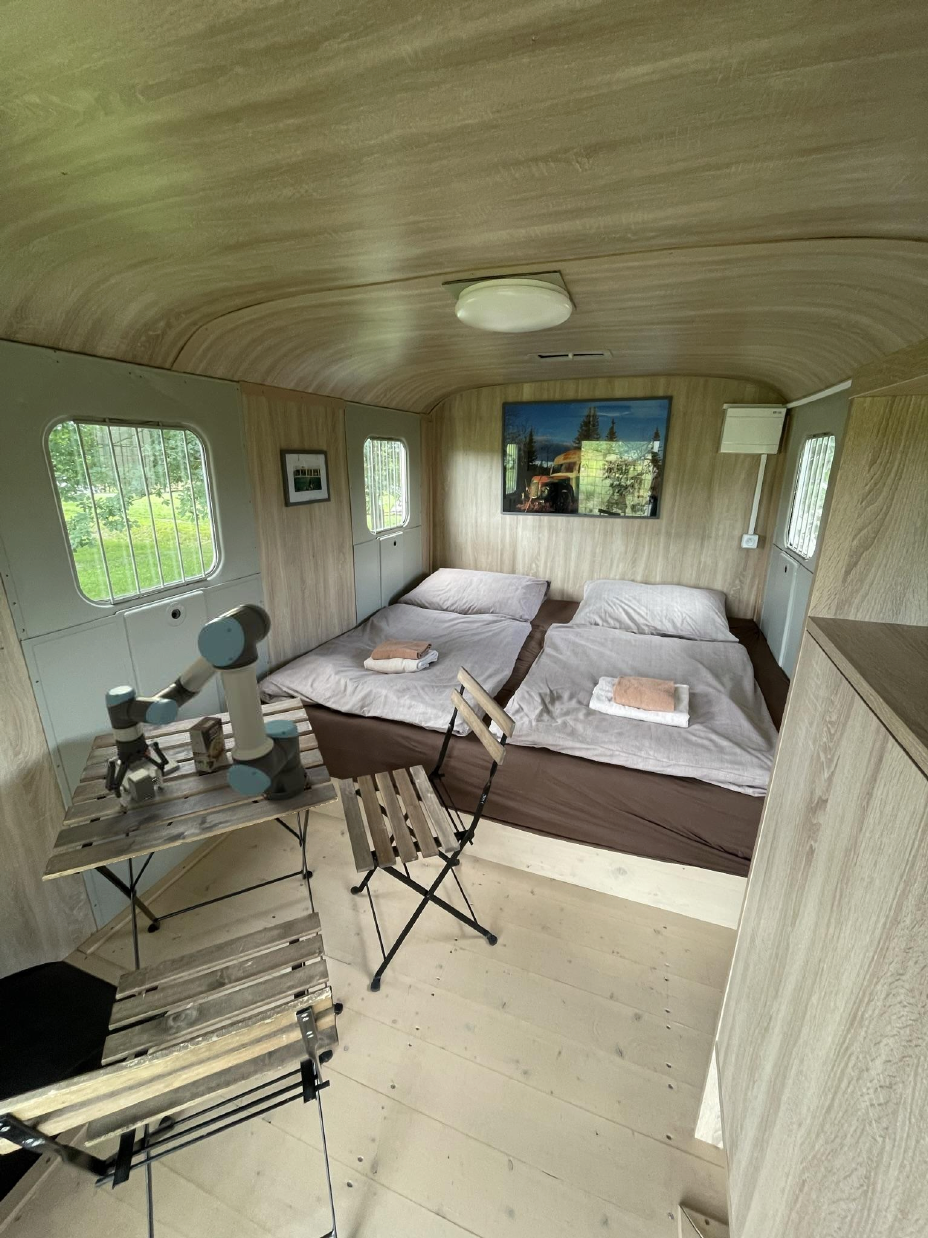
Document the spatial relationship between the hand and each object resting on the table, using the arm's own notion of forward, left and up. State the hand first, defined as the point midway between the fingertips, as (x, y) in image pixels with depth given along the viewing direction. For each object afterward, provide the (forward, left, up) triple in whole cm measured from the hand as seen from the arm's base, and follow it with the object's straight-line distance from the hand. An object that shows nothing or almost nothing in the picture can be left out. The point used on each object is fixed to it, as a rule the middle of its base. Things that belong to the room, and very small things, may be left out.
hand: (143, 794), depth 159 cm
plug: (0, 0, 0) cm, 0 cm away
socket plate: (+13, -6, 0) cm, 14 cm away
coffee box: (-1, -22, 0) cm, 22 cm away
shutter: (+21, -6, +1) cm, 22 cm away
